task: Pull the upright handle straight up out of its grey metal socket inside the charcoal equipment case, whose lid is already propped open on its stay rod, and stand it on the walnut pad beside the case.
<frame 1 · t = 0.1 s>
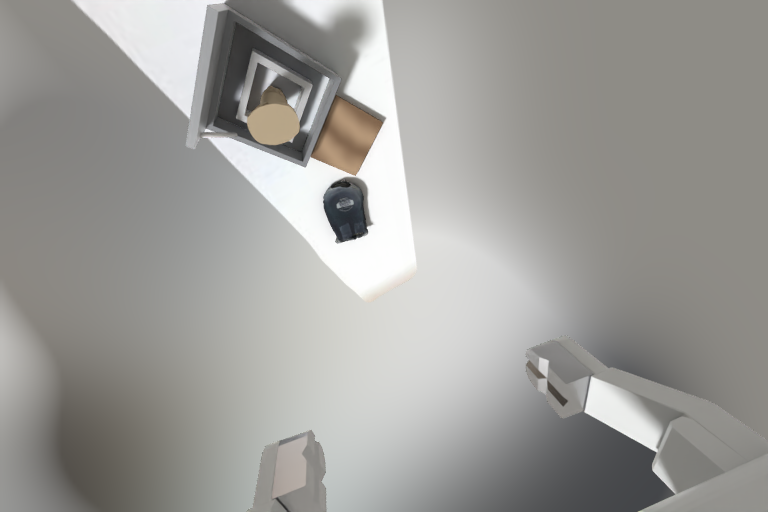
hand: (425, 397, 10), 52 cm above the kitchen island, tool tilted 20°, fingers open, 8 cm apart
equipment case: (274, 96, 46), on the kitchen island
handle: (274, 96, 46), resting in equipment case
walnut pad: (345, 138, 54), on the kitchen island
electronic device: (344, 208, 65), on the kitchen island
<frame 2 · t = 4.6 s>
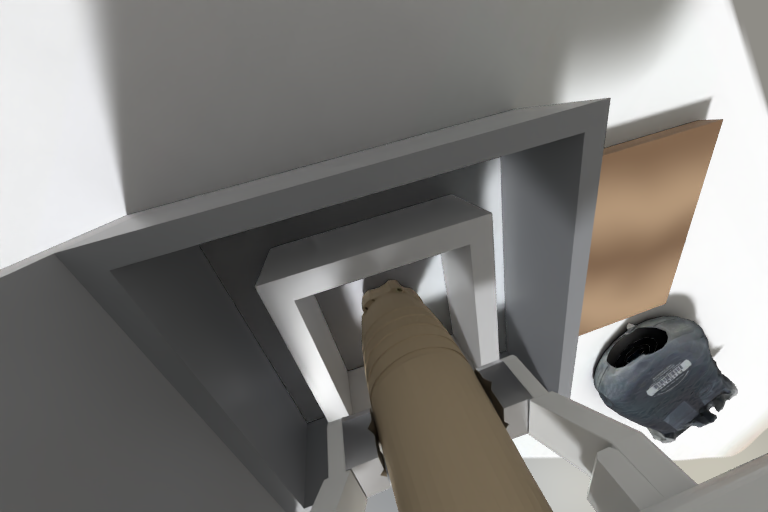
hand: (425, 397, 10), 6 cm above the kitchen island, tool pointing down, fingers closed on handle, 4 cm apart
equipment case: (387, 302, 15), on the kitchen island
handle: (386, 300, 15), resting in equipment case, touching gripper
walnut pad: (602, 244, 17), on the kitchen island
electronic device: (640, 363, 25), on the kitchen island
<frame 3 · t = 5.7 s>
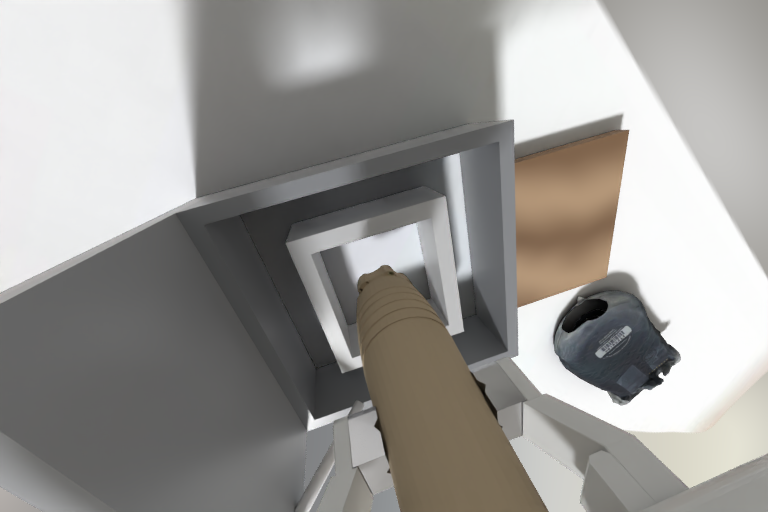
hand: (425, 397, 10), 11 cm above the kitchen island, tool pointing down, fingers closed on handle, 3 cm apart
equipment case: (377, 269, 20), on the kitchen island
handle: (379, 285, 17), point 3 cm above the kitchen island, touching gripper
walnut pad: (548, 227, 21), on the kitchen island
electronic device: (597, 335, 29), on the kitchen island
when the fingers open (9 cm above the kitchen island, at t = 10.7 s): handle stays where it is, resting on walnut pad.
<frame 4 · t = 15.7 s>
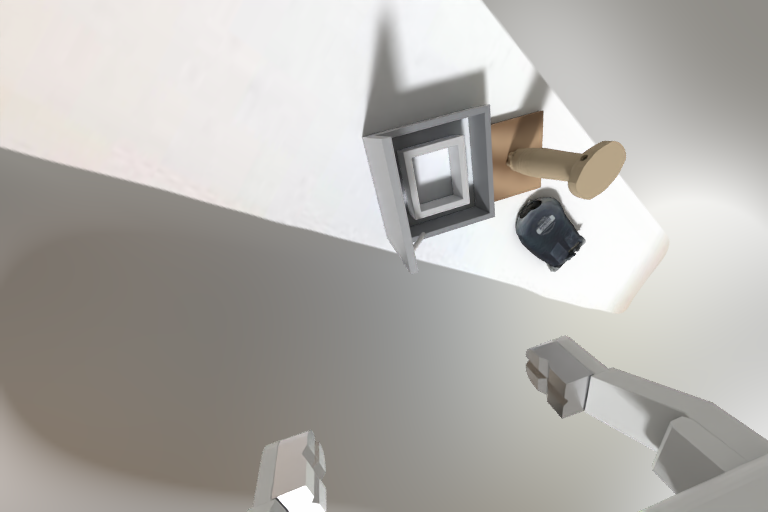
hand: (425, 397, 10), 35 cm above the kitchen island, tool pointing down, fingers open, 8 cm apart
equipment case: (430, 176, 43), on the kitchen island
handle: (513, 159, 44), point 1 cm above the kitchen island, touching walnut pad
walnut pad: (510, 159, 44), on the kitchen island
electronic device: (541, 229, 52), on the kitchen island
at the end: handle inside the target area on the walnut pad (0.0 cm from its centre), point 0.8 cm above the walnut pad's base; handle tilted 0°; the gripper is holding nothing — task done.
